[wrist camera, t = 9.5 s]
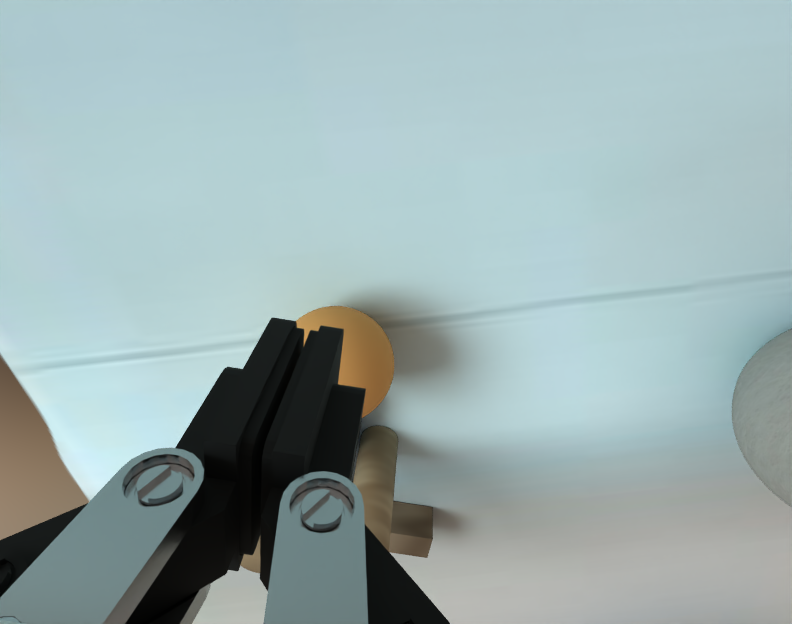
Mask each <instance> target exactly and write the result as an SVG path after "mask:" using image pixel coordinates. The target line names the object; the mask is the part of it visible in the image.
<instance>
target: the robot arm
mask: <svg viewBox="0 0 792 624" xmlns="http://www.w3.org/2000/svg"><path fill="white" fill-rule="evenodd" d="M343 336H344V329H341V328H335V327H329V326H322V325H321V326H320V328H319V330H318V331H315V330H310V332H309V334H308V337H307V339H306V342H305V344H304V329H302V328H297V323H296V321H291V320H285V319H279V318H271V320H270V321H269V323H268V325H267V327H266V329H265V330H264V332H263V334H262V336H261V338H260V339H259V341H258V343H257V345H256V347H255V348H254V350H253V352H252V354H251V355H250V357H249V359H248V361H247V363H246V364H245V366H244V368H243V369H238V368H232V367H227V368H225V369H224V370H223V372H222V373H221V375H220V376H219V378H218V379H217V381H216V383H215V384H214V386H213V388H212V389H211V391H210V392H209V394H208V396H207V397H206V399H205V401H204V402H203V404H202V405H201V407H200V409H199V410H198V412H197V414H196V415H195V417H194V418H193V420H192V422H191V423H190V425H189V427H188V428H187V430H186V431H185V433H184V435H183V436H182V438H181V440H180V441H179V443H178V444H177V446H176V448H162V449H155V450H152V451H148V452H145V453H143V454H141V455H139V456H137V457H135V458H133V459H131V460H130V461H129V462H128V463H127V464H125V465H124V466H123V467H122V468H121V469H120V470H119V471H118V472H117V473H116V474H115V475H114V476H113V477H112V478H111V480H110V481H109V482H108V483H107V484H106V485H105V486H104V487H103V488H102V489H101V490H100V491H99V492H98V493H97V495H96V496H95V497H94V498H93V499H92V500H91V501H90V502H89V503H87V504H85V505H83V506H80V507H78V508H76V509H73V510H71V511H69V512H66V513H64V514H62V515H59V516H57V517H54V518H52V519H49V520H47V521H45V522H43V523H40V524H38V525H35V526H33V527H31V528H28V529H26V530H23V531H21V532H19V533H16V534H14V535H12V536H9V537H7V538H5V539H2V540H0V624H192V623H193V621H194V619H195V617H196V615H197V614H198V612H199V610H200V608H201V606H202V605H203V603H204V601H205V599H206V597H207V595H208V592H209V590H210V584H211V583H212V582H213V581H215V580H217V579H218V578H220V577H222V576H223V575H225V574H226V573H227V571H228V570H234V571H238V570H239V567H240V565H241V562H242V559H243V556H244V554H246V555H253V554H254V552H255V549H256V546H257V543H258V540H259V538H260V579H261V581H262V583H263V584H264V586H265V587H266V589H267V591H268V595H267V603H266V610H265V617H264V624H450V623H449V621H448V620H447V619H446V618H445V617H444V616H443V614H442V613H441V612H440V611H439V610H438V609H437V607H436V606H435V605H434V604H433V603H432V602H431V600H430V599H429V598H428V597H427V596H426V595H425V593H424V592H423V591H422V590H421V589H420V588H419V586H418V585H417V584H416V583H415V582H414V581H413V580H412V578H411V577H410V576H409V575H408V574H407V573H406V571H405V570H404V569H403V568H402V567H401V566H400V564H399V563H398V562H397V561H396V560H395V559H394V557H393V556H392V555H391V554H390V553H389V552H388V550H387V549H386V548H385V547H384V546H383V545H382V543H381V542H380V541H379V540H378V539H377V538H376V536H375V535H374V534H373V533H372V532H371V531H370V529H369V528H368V527H367V526H366V525H365V521H364V503H363V499H362V494H361V493H360V491H359V490H358V488H357V486H356V485H355V484H354V483H352V482H351V477H352V472H353V466H354V461H355V455H356V449H357V444H358V438H359V432H360V426H361V420H362V413H363V407H364V400H365V393H366V389H365V388H359V387H352V386H346V385H340V384H338V380H339V371H340V362H341V354H342V345H343Z"/></svg>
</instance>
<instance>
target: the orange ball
mask: <svg viewBox="0 0 792 624" xmlns="http://www.w3.org/2000/svg"><path fill="white" fill-rule="evenodd" d="M296 323H297V328H302V329H304V344H305V342H306V339H307V337H308V334H309V332H310V330H315V331H318V330H319V328H320V326H321V325H322V326H329V327H335V328H341V329H344V336H343V345H342V354H341V362H340V371H339V380H338V384H340V385H346V386H352V387H359V388H365V389H366V393H365V400H364V407H363V413H362V418H363V417H365V416H366V415H368V414H369V413H371V412H372V411H373V410H374V409H375V408H376V407H377V406H378V405H379V404H380V403H381V402H382V400H383V399H384V398H385V396H386V394H387V392H388V390H389V388H390V385H391V383H392V380H393V374H394V355H393V350H392V346H391V344H390V341H389V339H388V337H387V335H386V334H385V332H384V331H383V329H382V328H381V327H380V326H379V325H378V324H377V323H376V322H375V321H374V320H373V319H372V318H371V317H369V316H368V315H366V314H364V313H362V312H360V311H358V310H355V309H352V308H348V307H343V306H330V307H323V308H319V309H316V310H313V311H311V312H309V313H307V314H305V315H303V316H302V317H301V318H299V319H298V320H297V321H296Z"/></svg>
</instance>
